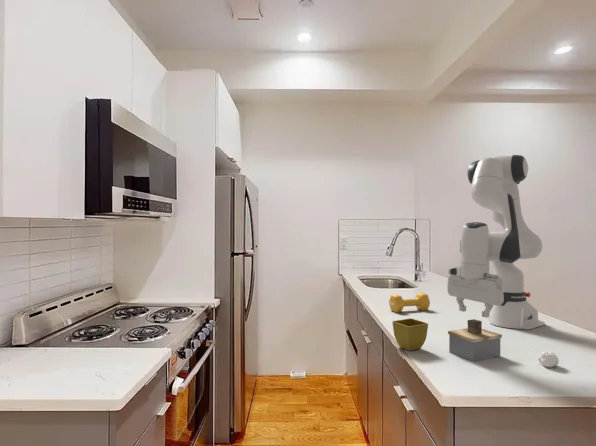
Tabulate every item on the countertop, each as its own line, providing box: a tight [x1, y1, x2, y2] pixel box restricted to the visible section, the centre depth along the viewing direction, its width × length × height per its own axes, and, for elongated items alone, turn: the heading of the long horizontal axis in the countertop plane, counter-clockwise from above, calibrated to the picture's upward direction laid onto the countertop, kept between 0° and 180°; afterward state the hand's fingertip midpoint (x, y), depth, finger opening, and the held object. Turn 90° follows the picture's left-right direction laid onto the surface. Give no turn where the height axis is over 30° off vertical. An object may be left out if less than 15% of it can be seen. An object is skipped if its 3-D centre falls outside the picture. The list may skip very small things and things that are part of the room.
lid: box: [447, 318, 503, 343], centre depth 138 cm, size 13×11×6 cm
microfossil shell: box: [537, 351, 560, 368], centre depth 128 cm, size 4×5×6 cm
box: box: [448, 334, 501, 362], centre depth 138 cm, size 12×10×6 cm
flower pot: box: [392, 318, 429, 352], centre depth 145 cm, size 9×9×9 cm
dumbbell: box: [388, 292, 431, 314], centre depth 204 cm, size 19×9×8 cm, turn 107°
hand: (473, 314), depth 138 cm, fingers open, 8 cm apart
